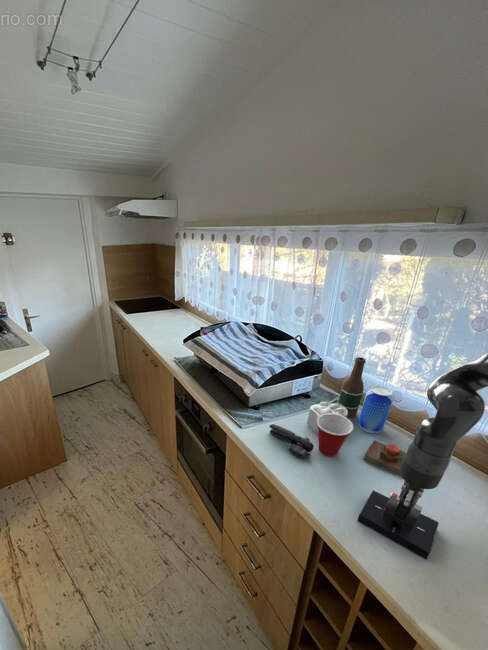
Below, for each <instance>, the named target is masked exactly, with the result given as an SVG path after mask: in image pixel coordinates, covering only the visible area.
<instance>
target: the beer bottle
mask: <svg viewBox="0 0 488 650" xmlns="http://www.w3.org/2000/svg"><path fill="white" fill-rule="evenodd" d="M366 362H367V361H366V358H364V357H359V356H358V357H355V359H354V364H353V367H352V369H351V373H350V374H349V376H348V377H347V378H346V379H345V380H344V381H343V382H342V385H341V389H340V393H339V396H338V400H337V404H338V405H340V406H342V407H344V408H346V409H347V411H348V415H347V419H352V418H355V417H357V414H358V410H359V407H360V405H361V401H362V397H363V394H364V390H365V389H364V381H363V379H362V377H363V372H364V368H365V364H366Z"/></svg>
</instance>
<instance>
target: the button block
mask: <svg viewBox="0 0 488 650" xmlns="http://www.w3.org/2000/svg"><path fill="white" fill-rule="evenodd" d="M386 446H387V443H386V444H385V443H384V442H380V441H378V440H373V441H372V443H371V444H370V446H369V447H368V448H367V451H366V452H365V454H364V455H363V459H362V460H364V461H366V462H368V463H370V464H372V465H375V466H377V467H379V468H382V469H384V470H386V471H389V472H391V473H393V474H395V475H397V476H400V477H402V476H401V475H400V472H399V468H400V466H401V464H402V461H403V459H404V457H405V454H406V452H405V451H403V450H402V449H400V450H399V453H398V455H396V456H395V455H390V454H388V453H387V452H386V451H385V448H386Z"/></svg>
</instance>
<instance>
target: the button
mask: <svg viewBox="0 0 488 650" xmlns="http://www.w3.org/2000/svg"><path fill="white" fill-rule="evenodd" d="M386 444H387V443H386ZM399 450H401V449H400V447H399V446H397V445H395V444H392V443H388V444H387V446H386V448H385V451H386V452H387V453H388V454H390V455H395V456H396V455H398V453H399Z"/></svg>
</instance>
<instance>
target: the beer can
mask: <svg viewBox="0 0 488 650" xmlns="http://www.w3.org/2000/svg"><path fill="white" fill-rule="evenodd" d="M393 402H394V396H393V391H392V390H391V389H389V388H387V387H385V386H379V385H375V386H372V387H371V388H370V389H369V390H368V391H367V392H366V394H365V397H364V400H363V403H362V406H361V410H360V412H359V416H358V419H357V424H358V427H359V428H360V429H361V430H362V431H364V432H366V433H370V434H378V433H380V432H382V431H383V430H384V428H385V425H386V422H387V419H388V417H389V413H390V411H391V408H392V405H393Z"/></svg>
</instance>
